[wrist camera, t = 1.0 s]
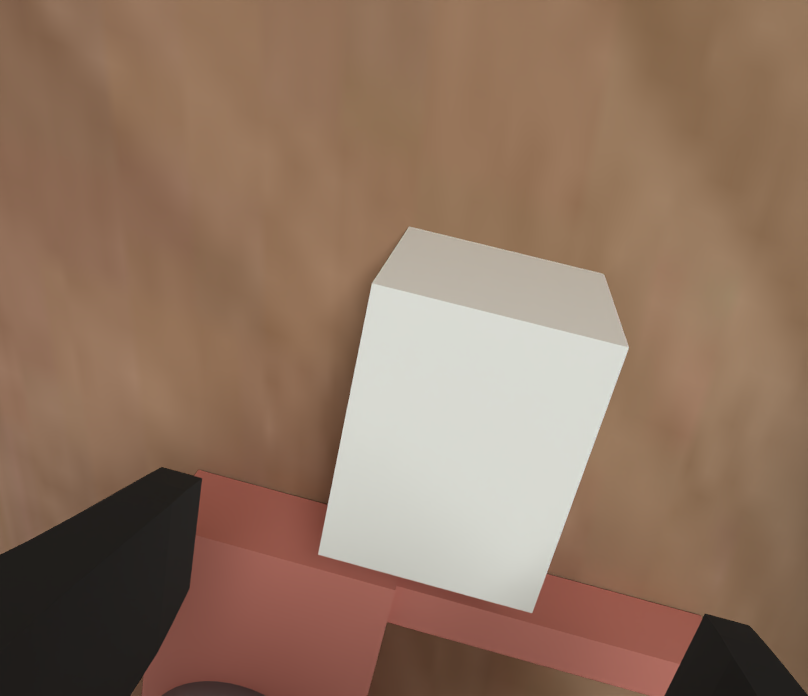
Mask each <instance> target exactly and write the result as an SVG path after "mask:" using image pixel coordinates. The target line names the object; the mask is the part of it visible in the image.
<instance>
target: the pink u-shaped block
mask: <svg viewBox="0 0 808 696" xmlns="http://www.w3.org/2000/svg"><path fill="white" fill-rule="evenodd" d="M194 476H196V477H200V478H202V485H201V493H200V502H199V511H198V520H197V528H196V537H195V546H194V554H193V563H192V572H191V581H190V589H189V591H188V593H187V595H186V597H185V599H184V601H183V603H182V605H181V607H180V609H179V611H178V613H177V615H176V617H175V620H174V622H173V624H172V626H171V628H170V629H169V631H168V633H167V635H166V637H165V639H164V641H163V643H162V645H161V647H160V649H159V651H158V653H157V654H156V656H155V658H154V659H153V661H152V662H151V664H150V665H149V667H148V669H147V670H146V672H145V673H144V675H143V687H142V696H368V692H369V689H370V685H371V681H372V677H373V673H374V670H375V666H376V662H377V658H378V654H379V651H380V647H381V643H382V639H383V635H384V632H385V628H386V624H387V622H388V623H392V624H395V625H399V626H403V627H406V628H410V629H413V630H417V631H420V632H424V633H428V634H431V635H435V636H438V637H442V638H445V639H449V640H453V641H456V642H460V643H463V644H467V645H471V646H474V647H478V648H481V649H485V650H488V651H492V652H496V653H499V654H503V655H506V656H510V657H513V658H517V659H521V660H524V661H528V662H531V663H535V664H538V665H542V666H546V667H549V668H553V669H556V670H560V671H564V672H567V673H571V674H574V675H578V676H581V677H585V678H589V679H592V680H596V681H599V682H603V683H606V684H610V685H614V686H617V687H621V688H624V689H628V690H631V691H635V692H639V693H642V694H646V695H649V696H664V695H665V693H666V691H667V689H668V687H669V685H670V683H671V681H672V679H673V677H674V675H675V673H676V671H677V669H678V667H679V665H680V663H681V661H682V659H683V657H684V655H685V653H686V651H687V649H688V647H689V645H690V643H691V641H692V639H693V637H694V635H695V633H696V631H697V629H698V627H699V625H700V623H701V621H702V618H701V616H700V615H696V614H693V613H689V612H685V611H682V610H678V609H674V608H671V607H667V606H663V605H660V604H656V603H652V602H649V601H645V600H641V599H638V598H634V597H630V596H627V595H623V594H619V593H616V592H612V591H608V590H605V589H601V588H597V587H594V586H590V585H586V584H582V583H579V582H575V581H571V580H568V579H564V578H560V577H557V576H553V575H549V574H546V577H545V579H544V582H543V585H542V588H541V590H540V593H539V596H538V599H537V601H536V604H535V607H534V610H533V612H532V613H529V612H526V611H522V610H518V609H515V608H511V607H507V606H504V605H500V604H496V603H493V602H489V601H486V600H482V599H478V598H475V597H471V596H467V595H464V594H460V593H456V592H453V591H449V590H445V589H442V588H438V587H434V586H431V585H427V584H424V583H420V582H416V581H413V580H409V579H405V578H402V577H398V576H394V575H391V574H387V573H383V572H380V571H376V570H372V569H369V568H365V567H362V566H358V565H354V564H351V563H347V562H343V561H340V560H336V559H332V558H329V557H325V556H321V555H318V552H319V547H320V542H321V537H322V532H323V527H324V522H325V517H326V512H327V507H328V505H326V504H323V503H319V502H315V501H312V500H308V499H304V498H301V497H297V496H293V495H290V494H286V493H282V492H279V491H275V490H271V489H267V488H264V487H260V486H256V485H253V484H249V483H245V482H242V481H238V480H234V479H231V478H227V477H223V476H220V475H216V474H212V473H208V472H205V471H201V470H198V471H197V472H196V474H195V475H194Z"/></svg>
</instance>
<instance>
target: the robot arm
mask: <svg viewBox="0 0 808 696" xmlns="http://www.w3.org/2000/svg"><path fill="white" fill-rule="evenodd" d="M201 485H202V478H200V477H196V476H193V475H189V474H185V473H181V472H178V471H174V470H170V469H167V468H163V467H161V468H159V469H158V470H156V471H154V472H152V473H150V474H148V475H146V476H145V477H143V478H141V479H139V480H137V481H136V482H134V483H132V484H130V485H129V486H127V487H125V488H123V489H121V490H120V491H118V492H116V493H114V494H113V495H111V496H109V497H107V498H106V499H104V500H102V501H100V502H99V503H97V504H95V505H93V506H91V507H90V508H88V509H86V510H84V511H83V512H81V513H79V514H77V515H75V516H74V517H72V518H70V519H68V520H66V521H64V522H62V523H61V524H59V525H57V526H55V527H53V528H51V529H49V530H48V531H46V532H44V533H42V534H40V535H38V536H37V537H35V538H33V539H31V540H29V541H27V542H25V543H23V544H21V545H19V546H17V547H15V548H13V549H11V550H9V551H7V552H5V553H3V554H1V555H0V696H130V695H131V693H132V692H133V690H134V689H135V687H136V686H137V684H138V683H139V681H140V679H141V678H142V676H143V675H144V673H145V672H146V670H147V669H148V667H149V665H150V664H151V662H152V661H153V659H154V658H155V656H156V654H157V653H158V651H159V649H160V647H161V645H162V643H163V641H164V639H165V637H166V635H167V633H168V631H169V629H170V628H171V626H172V624H173V622H174V620H175V617H176V615H177V613H178V611H179V609H180V607H181V605H182V603H183V601H184V599H185V597H186V595H187V593H188V591H189V589H190V581H191V572H192V563H193V554H194V546H195V537H196V528H197V520H198V511H199V502H200V493H201ZM664 696H808V695H807V694H806V692H805V691H804V690H803V689H802V687H801V686H800V685H799V684H798V683H797V681H796V680H795V679H794V678H793V676H792V675H791V674H790V673H789V671H788V670H787V669H786V668H785V667H784V665H783V664H782V663H781V662H780V660H779V659H778V658H777V657H776V656H775V654H774V653H773V652H772V651H771V650H770V648H769V647H768V646H767V645H766V644H765V643H764V641H763V640H762V639H761V638H760V637H759V636H758V635H757V633H756V632H755V631H754V630H753V629H752V628H751V627H750V626H749V625H745V624H741V623H738V622H734V621H730V620H727V619H723V618H719V617H715V616H712V615H708V614H705V615H704V617H703V619H702V621H701V623H700V625H699V627H698V629H697V631H696V633H695V635H694V637H693V639H692V641H691V643H690V645H689V647H688V649H687V651H686V653H685V655H684V657H683V659H682V661H681V663H680V665H679V667H678V669H677V671H676V673H675V675H674V677H673V679H672V681H671V683H670V685H669V687H668V689H667V691H666V693H665V695H664Z"/></svg>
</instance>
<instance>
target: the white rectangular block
mask: <svg viewBox="0 0 808 696" xmlns="http://www.w3.org/2000/svg"><path fill="white" fill-rule="evenodd" d="M628 349H629V346H628V343H627V340H626V337H625V335H624V332H623V329H622V326H621V323H620V320H619V317H618V314H617V311H616V308H615V305H614V302H613V299H612V296H611V293H610V290H609V287H608V284H607V281H606V279H605V276H604V274H602V273H598V272H594V271H590V270H585V269H581V268H577V267H573V266H569V265H565V264H561V263H557V262H553V261H549V260H544V259H540V258H536V257H532V256H528V255H524V254H520V253H516V252H512V251H508V250H503V249H499V248H495V247H491V246H487V245H483V244H479V243H475V242H471V241H467V240H462V239H458V238H454V237H450V236H446V235H442V234H438V233H434V232H430V231H426V230H421V229H417V228H413V227H408V229H407V230H406V232H405V234H404V235H403V237H402V238H401V240H400V241H399V243H398V244H397V246H396V247H395V249H394V250H393V252H392V253H391V255H390V257H389V258H388V260H387V261H386V263H385V264H384V266H383V267H382V269H381V270H380V272H379V273H378V275H377V276H376V278H375V279H374V281H373V283H372V286H371V291H370V296H369V301H368V306H367V311H366V316H365V321H364V326H363V331H362V336H361V341H360V346H359V351H358V356H357V361H356V366H355V371H354V376H353V381H352V386H351V391H350V396H349V401H348V406H347V411H346V416H345V421H344V426H343V431H342V436H341V441H340V446H339V452H338V457H337V462H336V467H335V472H334V477H333V482H332V487H331V492H330V497H329V502H328V507H327V512H326V517H325V522H324V527H323V532H322V537H321V542H320V547H319V552H318V555H321V556H325V557H329V558H332V559H336V560H340V561H343V562H347V563H351V564H354V565H358V566H362V567H365V568H369V569H372V570H376V571H380V572H383V573H387V574H391V575H394V576H398V577H402V578H405V579H409V580H413V581H416V582H420V583H424V584H427V585H431V586H434V587H438V588H442V589H445V590H449V591H453V592H456V593H460V594H464V595H467V596H471V597H475V598H478V599H482V600H486V601H489V602H493V603H496V604H500V605H504V606H507V607H511V608H515V609H518V610H522V611H526V612H529V613H532V612H533V610H534V607H535V604H536V601H537V599H538V596H539V593H540V590H541V588H542V585H543V582H544V579H545V577H546V574H547V571H548V568H549V566H550V563H551V560H552V557H553V555H554V552H555V549H556V546H557V544H558V541H559V538H560V535H561V533H562V530H563V527H564V524H565V522H566V519H567V516H568V513H569V511H570V508H571V505H572V502H573V500H574V497H575V494H576V491H577V489H578V486H579V483H580V480H581V478H582V475H583V472H584V469H585V467H586V464H587V461H588V458H589V456H590V453H591V450H592V447H593V445H594V442H595V439H596V437H597V434H598V431H599V428H600V426H601V423H602V420H603V417H604V415H605V412H606V409H607V406H608V404H609V401H610V398H611V395H612V393H613V390H614V387H615V384H616V382H617V379H618V376H619V373H620V371H621V368H622V365H623V362H624V360H625V357H626V354H627V351H628Z"/></svg>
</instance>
